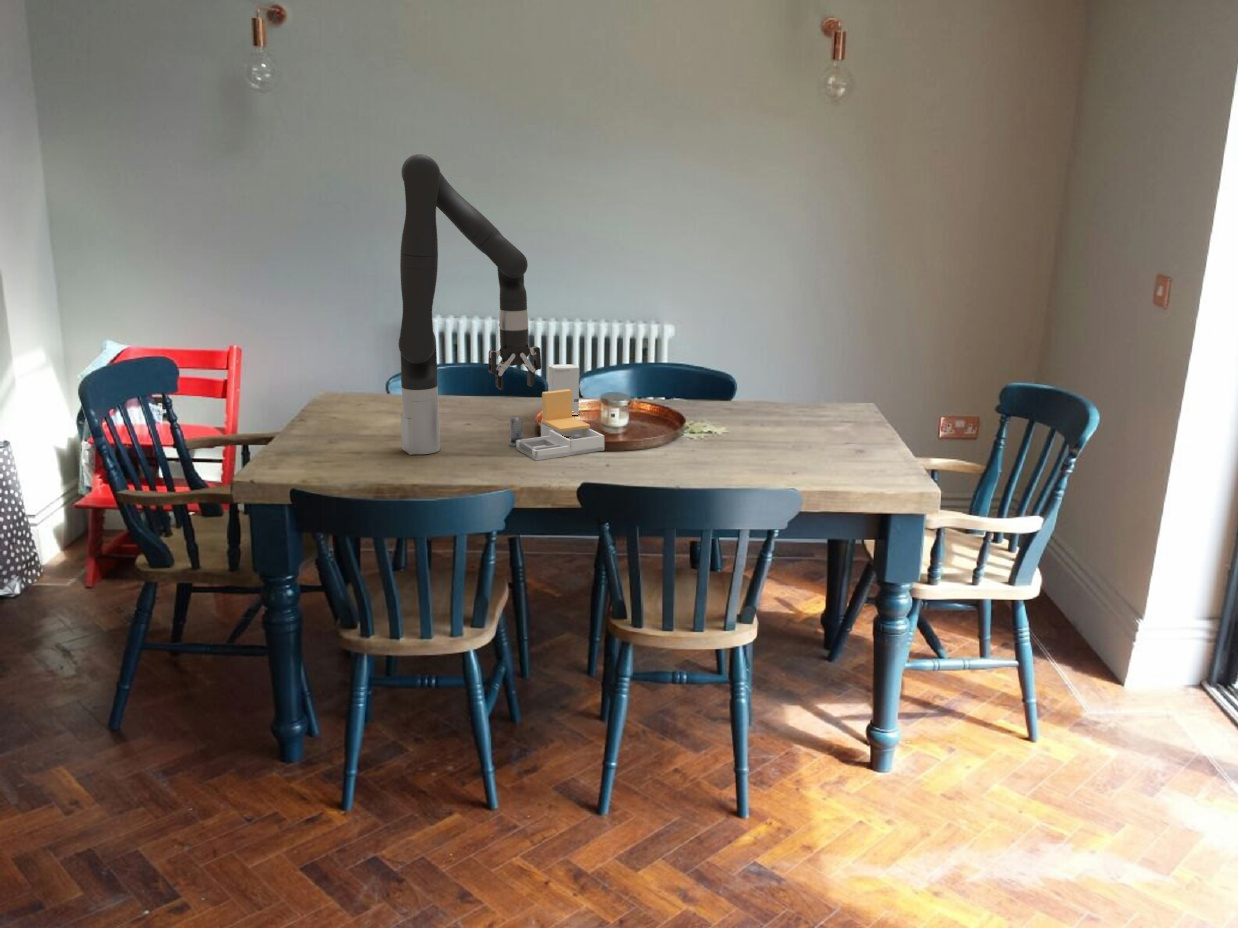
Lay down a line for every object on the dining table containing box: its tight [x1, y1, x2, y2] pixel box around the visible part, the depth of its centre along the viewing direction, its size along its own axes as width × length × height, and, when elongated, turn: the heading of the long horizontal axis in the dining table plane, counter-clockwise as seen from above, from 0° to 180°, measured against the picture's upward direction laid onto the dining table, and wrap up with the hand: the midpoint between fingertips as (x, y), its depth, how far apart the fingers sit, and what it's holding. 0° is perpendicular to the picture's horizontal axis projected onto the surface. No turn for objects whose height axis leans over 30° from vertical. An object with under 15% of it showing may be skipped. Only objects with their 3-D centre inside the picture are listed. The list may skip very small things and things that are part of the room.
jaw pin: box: [508, 415, 524, 448], centre depth 303 cm, size 4×4×8 cm
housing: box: [515, 422, 605, 461], centre depth 302 cm, size 20×20×4 cm
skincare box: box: [547, 363, 580, 414], centre depth 334 cm, size 8×6×15 cm
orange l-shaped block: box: [540, 389, 591, 432], centre depth 306 cm, size 9×12×8 cm
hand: (515, 387), depth 300 cm, fingers open, 8 cm apart
